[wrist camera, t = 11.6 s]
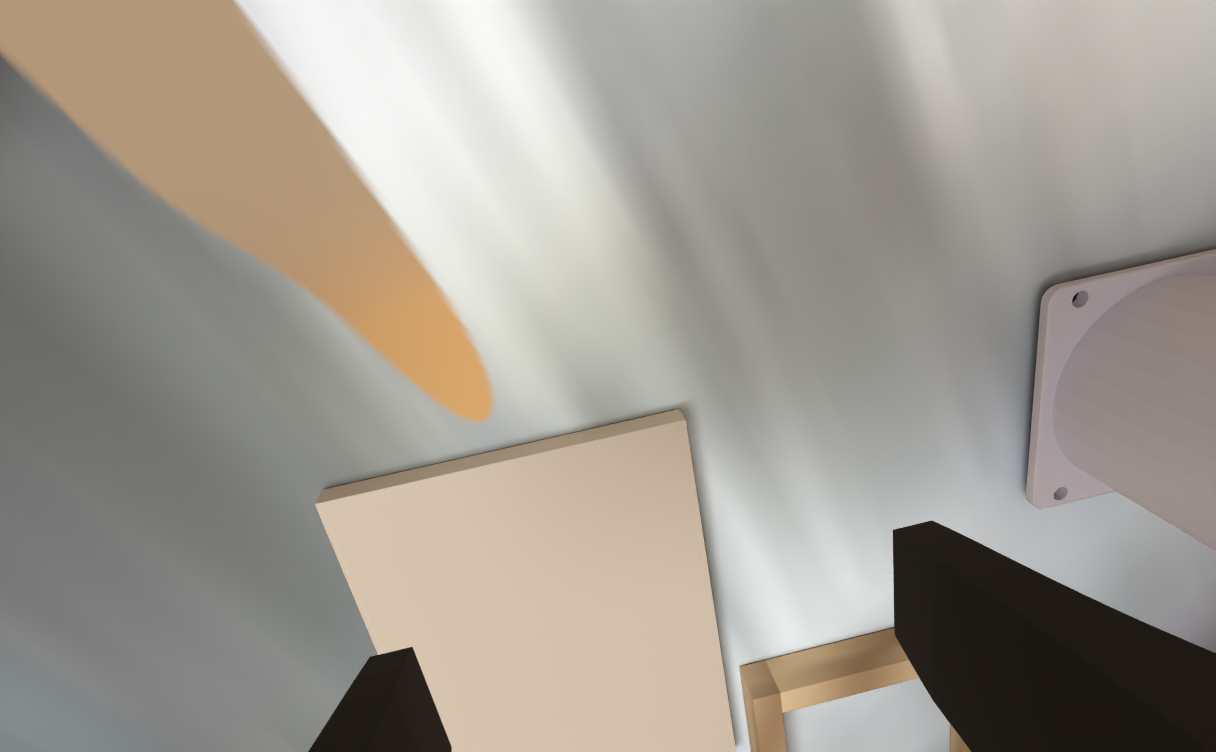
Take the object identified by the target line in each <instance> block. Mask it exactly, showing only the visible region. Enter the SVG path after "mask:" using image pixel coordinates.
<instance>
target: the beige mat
mask: <svg viewBox="0 0 1216 752" xmlns="http://www.w3.org/2000/svg"><path fill="white" fill-rule="evenodd" d="M315 506H316V508H317V510H318V513H319V515H320V518H321V520H322V522H323V525H324V527H325V529H326V532H327V534H328V537H329V539H330V541H331V544H332V546H333V548H334V551H335V553H336V556H337V558H338V560H339V563H340V565H341V568H342V570H343V572H344V575H345V577H346V579H347V582H348V584H349V587H350V589H351V591H352V594H353V596H354V598H355V601H356V603H357V606H358V608H359V610H360V613H361V615H362V617H363V620H364V622H365V625H366V627H367V629H368V632H369V634H370V637H371V639H372V641H373V644H374V646H375V648H376V651H377V653H378V655H380V654H384V653H388V652H392V651H397V650H401V649H405V648H409V647H413V649H414V652H415V654H416V657H417V660H418V662H419V665H420V667H421V670H422V672H423V675H424V677H425V680H426V683H427V685H428V688H429V690H430V693H431V695H432V698H433V700H434V703H435V706H436V708H437V711H438V713H439V716H440V718H441V721H442V724H443V726H444V729H445V731H446V734H447V736H448V739H449V741H450V744H451V747H452V752H736V748H735V741H734V735H733V728H732V722H731V715H730V708H729V702H728V695H727V689H726V682H725V676H724V669H723V662H722V656H721V649H720V643H719V636H718V629H717V623H716V616H715V610H714V603H713V597H712V590H711V583H710V577H709V570H708V564H707V557H706V550H705V544H704V537H703V531H702V524H701V518H700V511H699V504H698V498H697V491H696V485H695V478H694V471H693V465H692V458H691V452H690V445H689V439H688V432H687V425H686V420H685V418H684V416H683V414H682V413H681V411H680V409H677V410H673V411H668V412H664V413H659V414H655V415H650V416H646V417H642V418H637V419H633V420H628V421H624V422H620V423H615V424H611V425H606V426H602V427H598V428H593V429H589V430H584V431H580V432H575V433H571V434H567V435H562V436H558V437H553V438H549V439H545V440H540V441H536V442H531V443H527V444H522V445H518V446H514V447H509V448H505V449H500V450H496V451H492V452H487V453H483V454H478V455H474V456H469V457H465V458H461V459H456V460H452V461H447V462H443V463H439V464H434V465H430V466H425V467H421V468H417V469H412V470H408V471H403V472H399V473H394V474H390V475H386V476H381V477H377V478H372V479H368V480H364V481H359V482H355V483H350V484H346V485H341V486H337V487H333V488H328V489H324V490H322V492H321V494H320V496H319V498H318V499H317V501H316V503H315Z"/></svg>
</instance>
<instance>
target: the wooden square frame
mask: <svg viewBox="0 0 1216 752" xmlns="http://www.w3.org/2000/svg"><path fill="white" fill-rule="evenodd" d="M739 668H740V675H741V682H742V689H743V697H744V704H745V711H746V718H747V725H748V732H749V740H750V747H751V752H787V749H786V740H785V730H784V721H783V713H785V712H789V711H793V710H796V709H800V708H804V707H808V706H812V705H816V704H820V703H824V702H827V701H831V700H835V699H839V698H843V697H847V696H851V695H855V694H859V693H862V692H866V691H870V690H874V689H878V688H882V687H886V686H890V685H894V684H897V683H901V682H905V681H909V680H913V679H917V678H919V676H918V675H917V673H916V671H915V670H914V668H913V666H912V664H911V663H910V661H909V659H908V657H907V656H906V654H905V652H904V650H903V649H902V647H901V645H900V643H899V642H898V640H897V638H896V637H895V628H891V629H887V630H883V631H879V632H875V633H872V634H868V635H864V636H860V637H856V638H852V639H848V640H844V641H840V642H836V643H832V644H828V645H824V646H820V647H816V648H812V649H808V650H804V651H800V652H796V653H792V654H788V655H784V656H780V657H776V658H772V659H768V660H764V661H760V662H756V663H752V664H748V665H745V666H741V667H739ZM950 752H971V751H970V749H969V748H968V747H967V745H966V744H965V743H964V741H963V740H962V739H961V737H960V736H959V735H958V733H957V732H956V731H955V729H954V728H953V727H952V725H951V735H950Z"/></svg>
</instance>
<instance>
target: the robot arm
mask: <svg viewBox="0 0 1216 752" xmlns="http://www.w3.org/2000/svg"><path fill="white" fill-rule="evenodd" d="M1076 293H1078V296H1077V299H1076V300H1075V301H1074V302H1073V303H1072V300H1073V297H1074V296H1075V294H1076ZM1057 489H1058V490H1057ZM1056 490H1057V491H1056ZM1055 491H1056V492H1055ZM1114 491H1117V492H1118V493H1120V494H1122V495H1123V496H1125V497H1127V498H1128V499H1130V500H1132V501H1133V502H1135V503H1137V504H1138V505H1140V506H1142V507H1143V508H1145V509H1147V510H1148V511H1150V512H1152V513H1153V514H1155V515H1157V516H1158V517H1160V518H1162V519H1163V520H1165V521H1167V522H1168V523H1170V524H1172V525H1173V526H1175V527H1177V528H1178V529H1180V530H1182V531H1183V532H1185V533H1187V534H1188V535H1190V536H1192V537H1193V538H1195V539H1197V540H1198V541H1200V542H1202V543H1203V544H1205V545H1207V546H1208V547H1210V548H1212V549H1213V550H1215V551H1216V249H1213V250H1209V251H1204V252H1200V253H1195V254H1191V255H1186V256H1182V257H1177V258H1173V259H1169V260H1164V261H1160V262H1155V263H1151V264H1146V265H1142V266H1137V267H1133V268H1128V269H1124V270H1119V271H1115V272H1110V273H1106V274H1101V275H1097V276H1092V277H1088V278H1083V279H1079V280H1074V281H1070V282H1065V283H1061V284H1057V285H1054V286H1052V287H1050V288H1049V289H1048V290H1047V291H1046V292H1045V294H1044V295H1043V297H1042V300H1041V306H1040V319H1039V332H1038V345H1037V358H1036V371H1035V384H1034V397H1033V410H1032V423H1031V436H1030V449H1029V462H1028V475H1027V488H1026V498H1027V500H1028V502H1029V503H1031V504H1032V505H1033V506H1035V507H1037V508H1039V509H1042V508H1048V507H1052V506H1056V505H1060V504H1065V503H1069V502H1073V501H1077V500H1081V499H1085V498H1089V497H1093V496H1097V495H1101V494H1106V493H1110V492H1114ZM1054 492H1055V493H1054ZM893 566H894V628H895V637H896V638H897V640H898V642H899V643H900V645H901V647H902V649H903V650H904V652H905V654H906V656H907V657H908V659H909V661H910V663H911V664H912V666H913V668H914V670H915V671H916V673H917V675H918V676H919V678H920V680H921V681H922V683H923V684H924V686H925V688H926V689H927V691H928V693H929V694H930V696H931V698H932V699H933V701H934V702H935V704H936V705H937V706H938V708H939V709H940V710H941V712H942V713H943V714H944V716H945V717H946V719H947V720H948V721H949V723H950V724H951V725H952V727H953V728H954V729H955V731H956V732H957V733H958V735H959V736H960V737H961V739H962V740H963V741H964V743H965V744H966V745H967V747H968V748H969V749H970V751H971V752H1216V653H1214V652H1211V651H1209V650H1206V649H1204V648H1202V647H1199V646H1197V645H1195V644H1193V643H1190V642H1188V641H1186V640H1183V639H1181V638H1179V637H1176V636H1174V635H1172V634H1169V633H1167V632H1165V631H1162V630H1160V629H1158V628H1156V627H1153V626H1151V625H1149V624H1146V623H1144V622H1142V621H1140V620H1137V619H1135V618H1133V617H1131V616H1129V615H1126V614H1124V613H1122V612H1120V611H1118V610H1115V609H1113V608H1111V607H1109V606H1107V605H1105V604H1102V603H1100V602H1098V601H1096V600H1094V599H1092V598H1090V597H1088V596H1085V595H1083V594H1081V593H1079V592H1077V591H1075V590H1073V589H1071V588H1069V587H1067V586H1065V585H1063V584H1060V583H1058V582H1056V581H1054V580H1052V579H1050V578H1048V577H1046V576H1044V575H1042V574H1040V573H1038V572H1036V571H1034V570H1032V569H1030V568H1028V567H1026V566H1024V565H1022V564H1020V563H1018V562H1016V561H1014V560H1012V559H1010V558H1008V557H1006V556H1004V555H1002V554H1000V553H998V552H996V551H994V550H992V549H990V548H988V547H986V546H984V545H982V544H980V543H978V542H976V541H974V540H972V539H970V538H968V537H966V536H964V535H962V534H960V533H957V532H955V531H953V530H951V529H949V528H947V527H945V526H943V525H940V524H938V523H936V522H934V521H928V522H924V523H920V524H916V525H912V526H908V527H903V528H899V529H895V530H893ZM308 752H452V747H451V744H450V741H449V739H448V736H447V734H446V731H445V729H444V726H443V724H442V721H441V718H440V716H439V713H438V711H437V708H436V706H435V703H434V700H433V698H432V695H431V693H430V690H429V688H428V685H427V683H426V680H425V677H424V675H423V672H422V670H421V667H420V665H419V662H418V660H417V657H416V654H415V652H414V649H413V647H409V648H405V649H401V650H397V651H392V652H388V653H384V654H380V655H376V656H372V657H370V658H369V659H368V661H367V662H366V664H365V665H364V667H363V668H362V670H361V671H360V673H359V674H358V676H357V677H356V679H355V680H354V682H353V683H352V685H351V686H350V688H349V689H348V691H347V692H346V694H345V696H344V697H343V699H342V700H341V702H340V703H339V705H338V706H337V708H336V710H335V711H334V713H333V714H332V716H331V717H330V719H329V720H328V722H327V724H326V725H325V727H324V728H323V730H322V731H321V733H320V734H319V736H318V737H317V739H316V740H315V742H314V744H313V745H312V747H311V748H310V750H309V751H308Z"/></svg>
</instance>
